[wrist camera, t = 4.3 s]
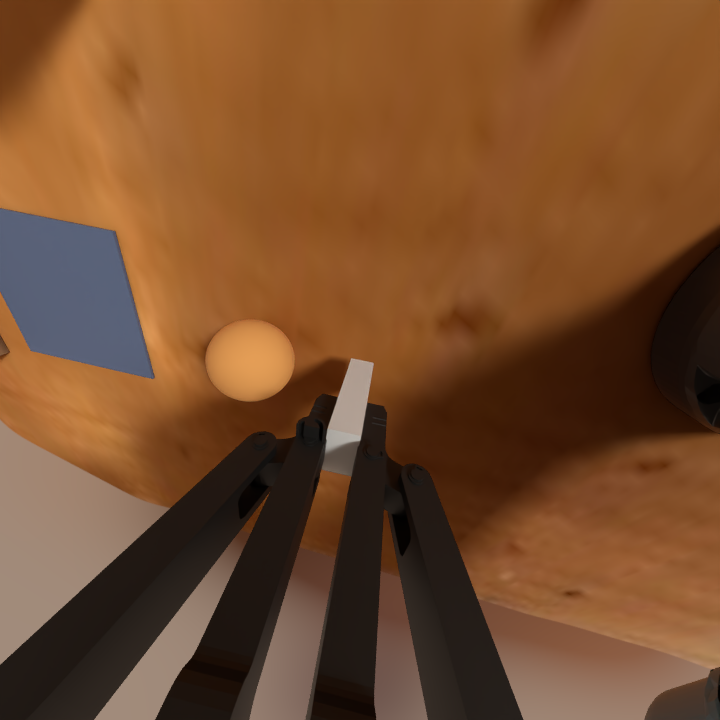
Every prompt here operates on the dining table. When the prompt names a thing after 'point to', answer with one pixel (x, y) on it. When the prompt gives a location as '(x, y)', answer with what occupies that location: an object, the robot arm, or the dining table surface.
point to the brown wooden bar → (3, 347)
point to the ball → (250, 360)
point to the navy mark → (71, 292)
